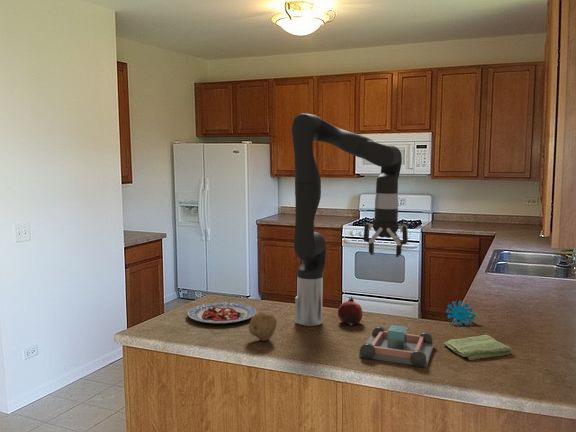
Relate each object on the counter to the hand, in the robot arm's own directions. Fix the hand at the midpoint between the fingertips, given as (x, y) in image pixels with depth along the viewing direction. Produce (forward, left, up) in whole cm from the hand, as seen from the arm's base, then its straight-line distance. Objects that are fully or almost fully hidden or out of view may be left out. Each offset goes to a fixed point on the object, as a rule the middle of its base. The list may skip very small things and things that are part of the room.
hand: (384, 255), depth 173 cm
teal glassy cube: (+7, -12, -27) cm, 30 cm away
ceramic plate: (-61, -1, -29) cm, 67 cm away
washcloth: (+30, -1, -29) cm, 42 cm away
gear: (+24, +26, -28) cm, 45 cm away
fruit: (-14, +10, -28) cm, 33 cm away
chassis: (+7, -12, -28) cm, 31 cm away
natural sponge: (-36, -19, -28) cm, 50 cm away
